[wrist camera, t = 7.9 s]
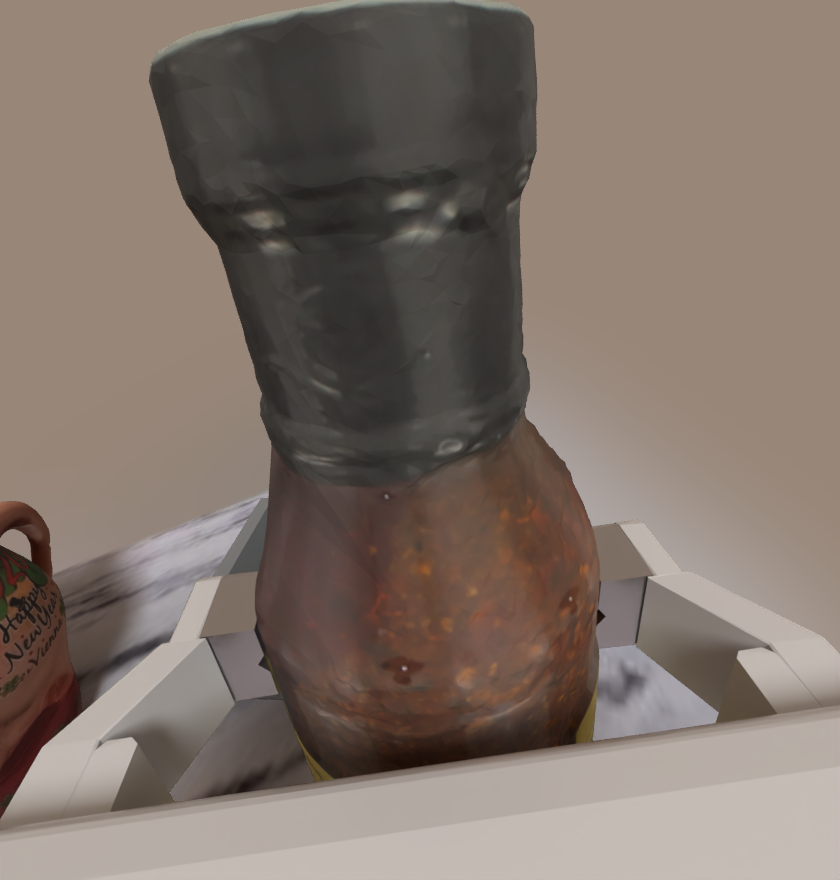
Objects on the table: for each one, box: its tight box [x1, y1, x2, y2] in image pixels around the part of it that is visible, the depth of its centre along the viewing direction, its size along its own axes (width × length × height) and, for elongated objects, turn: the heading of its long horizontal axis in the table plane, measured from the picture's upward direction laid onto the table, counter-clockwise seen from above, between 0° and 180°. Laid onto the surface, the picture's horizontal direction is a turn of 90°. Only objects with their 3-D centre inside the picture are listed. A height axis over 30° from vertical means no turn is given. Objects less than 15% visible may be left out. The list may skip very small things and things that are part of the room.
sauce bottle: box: [149, 0, 600, 782], centre depth 10 cm, size 6×6×20 cm
